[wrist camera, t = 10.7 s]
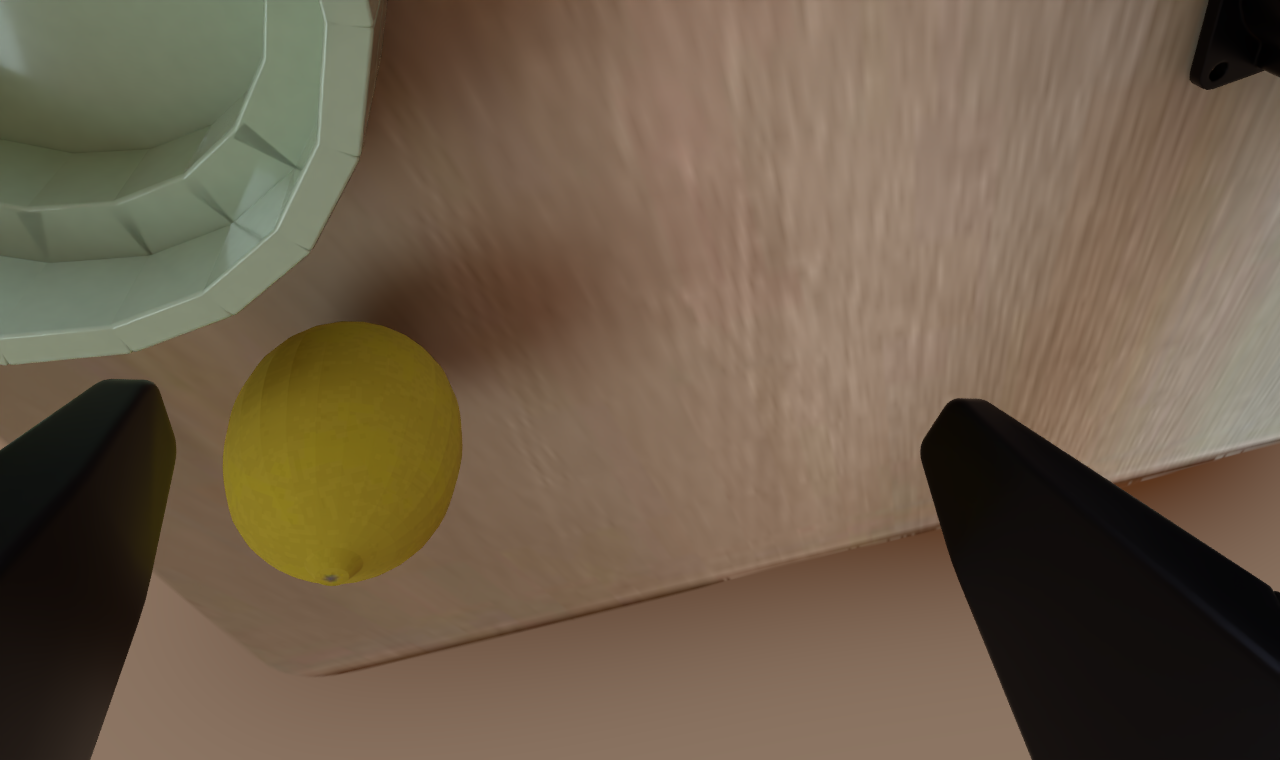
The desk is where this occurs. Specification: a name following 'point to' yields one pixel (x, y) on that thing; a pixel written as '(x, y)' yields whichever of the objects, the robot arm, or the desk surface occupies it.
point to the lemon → (342, 453)
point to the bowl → (168, 159)
